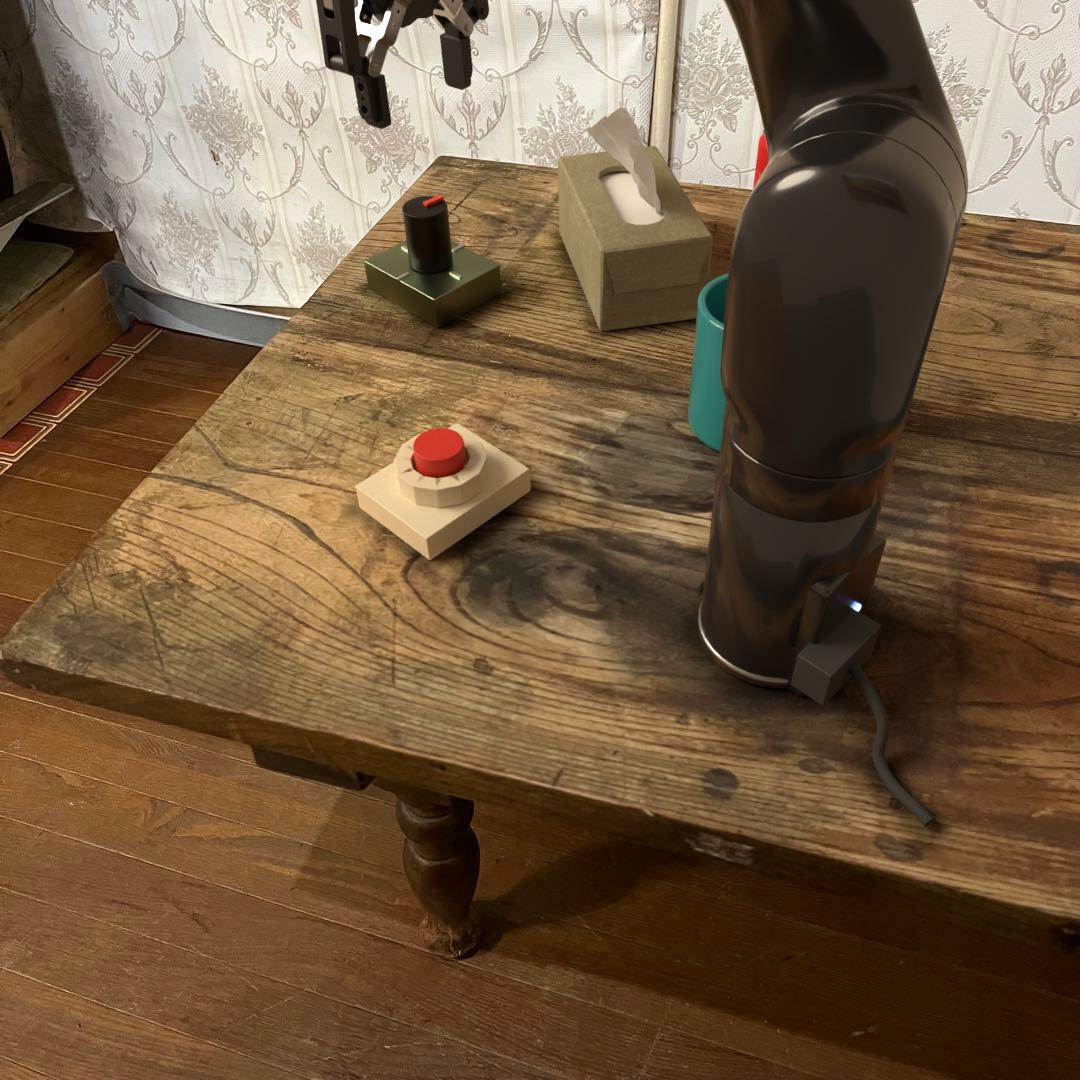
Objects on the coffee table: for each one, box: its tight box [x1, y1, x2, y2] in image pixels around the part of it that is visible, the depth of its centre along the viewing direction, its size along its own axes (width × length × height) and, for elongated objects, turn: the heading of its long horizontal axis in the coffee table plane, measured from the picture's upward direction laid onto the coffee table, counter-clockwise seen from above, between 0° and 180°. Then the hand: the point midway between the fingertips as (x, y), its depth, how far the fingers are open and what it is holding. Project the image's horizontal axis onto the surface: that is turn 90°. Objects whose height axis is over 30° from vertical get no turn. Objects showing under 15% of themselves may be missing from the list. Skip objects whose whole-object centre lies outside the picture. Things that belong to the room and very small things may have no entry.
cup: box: [687, 273, 728, 453], centre depth 77 cm, size 9×12×11 cm
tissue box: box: [557, 106, 714, 332], centre depth 93 cm, size 19×10×16 cm, turn 11°
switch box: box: [354, 422, 532, 561], centre depth 76 cm, size 8×10×4 cm
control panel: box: [363, 239, 502, 329], centre depth 96 cm, size 10×8×3 cm
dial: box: [401, 194, 453, 273], centre depth 93 cm, size 4×4×6 cm
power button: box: [413, 427, 466, 478], centre depth 74 cm, size 4×4×2 cm
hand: (419, 105), depth 78 cm, fingers open, 8 cm apart
